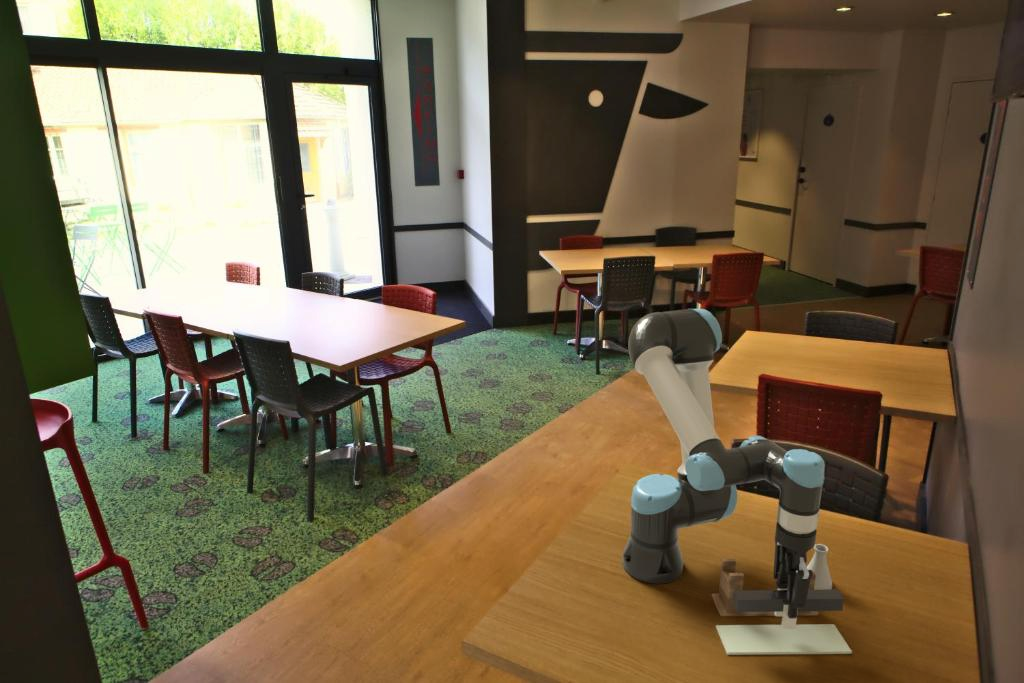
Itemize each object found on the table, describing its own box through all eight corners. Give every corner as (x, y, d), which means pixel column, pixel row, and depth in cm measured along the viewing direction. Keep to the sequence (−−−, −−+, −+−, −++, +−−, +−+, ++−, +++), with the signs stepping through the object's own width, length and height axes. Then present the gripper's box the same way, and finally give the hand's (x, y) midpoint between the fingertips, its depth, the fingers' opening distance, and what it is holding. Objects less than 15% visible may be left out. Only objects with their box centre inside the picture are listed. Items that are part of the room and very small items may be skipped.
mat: (727, 654, 136) (727, 652, 136) (716, 627, 144) (716, 625, 143) (851, 653, 136) (851, 651, 135) (833, 626, 143) (833, 624, 143)
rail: (737, 612, 136) (738, 599, 135) (732, 602, 138) (733, 590, 138) (842, 610, 135) (844, 598, 134) (835, 601, 138) (837, 589, 137)
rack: (720, 616, 147) (724, 577, 144) (711, 595, 154) (715, 557, 151) (817, 615, 147) (823, 576, 144) (804, 594, 153) (809, 556, 150)
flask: (836, 594, 153) (841, 558, 150) (803, 590, 155) (808, 555, 152) (828, 575, 160) (833, 540, 157) (797, 572, 162) (801, 537, 159)
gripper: (833, 548, 123) (819, 649, 130) (798, 503, 139) (787, 595, 146) (794, 548, 124) (781, 649, 130) (763, 504, 139) (753, 596, 146)
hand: (784, 621), depth 138 cm, fingers closed on rail, 3 cm apart
